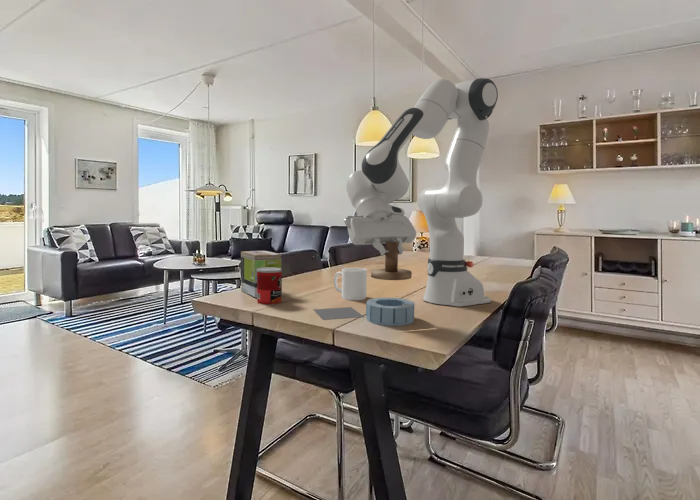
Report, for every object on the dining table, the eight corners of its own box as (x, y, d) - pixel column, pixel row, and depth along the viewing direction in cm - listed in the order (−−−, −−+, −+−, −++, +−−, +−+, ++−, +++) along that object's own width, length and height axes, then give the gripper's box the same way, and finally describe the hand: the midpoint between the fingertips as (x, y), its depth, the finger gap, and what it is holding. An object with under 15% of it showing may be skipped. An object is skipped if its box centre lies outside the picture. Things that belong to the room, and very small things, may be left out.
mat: (351, 308, 129) (351, 307, 129) (364, 318, 117) (364, 316, 117) (312, 310, 125) (312, 309, 125) (323, 321, 114) (323, 319, 113)
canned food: (274, 306, 130) (274, 271, 129) (252, 304, 132) (251, 269, 131) (286, 301, 137) (286, 268, 136) (264, 299, 139) (264, 266, 138)
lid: (400, 272, 121) (401, 240, 120) (418, 279, 111) (419, 243, 110) (365, 274, 118) (365, 240, 117) (380, 281, 107) (380, 244, 106)
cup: (359, 302, 137) (360, 271, 136) (327, 298, 142) (328, 268, 141) (370, 297, 144) (370, 268, 143) (339, 294, 149) (339, 266, 148)
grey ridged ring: (401, 313, 124) (401, 296, 123) (422, 325, 111) (422, 306, 111) (359, 316, 120) (360, 298, 119) (377, 328, 107) (377, 309, 107)
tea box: (282, 295, 146) (282, 253, 144) (254, 298, 140) (254, 254, 139) (266, 288, 158) (265, 249, 157) (240, 290, 153) (239, 250, 151)
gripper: (346, 208, 114) (363, 247, 106) (407, 208, 123) (427, 244, 116) (338, 224, 118) (355, 262, 110) (398, 223, 128) (417, 258, 120)
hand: (392, 253), depth 113 cm, fingers closed on lid, 3 cm apart
